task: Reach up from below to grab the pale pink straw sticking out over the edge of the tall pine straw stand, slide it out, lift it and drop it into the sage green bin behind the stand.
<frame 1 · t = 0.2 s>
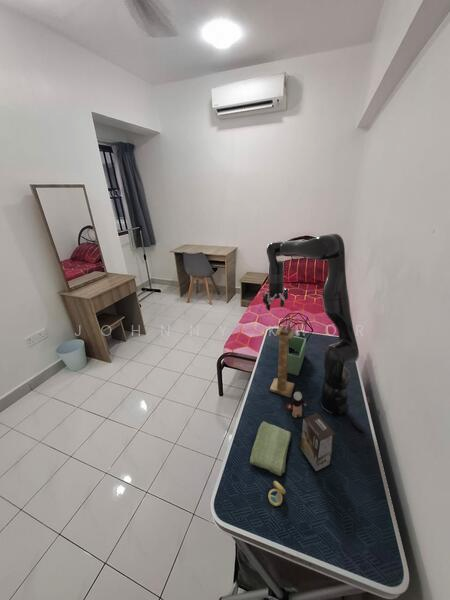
hand: (275, 308, 131), 29 cm above the table, tool pointing down, fingers open, 8 cm apart
grandmother figurine: (295, 414, 104), on the table
bin: (291, 362, 133), on the table
straw stand: (282, 386, 118), on the table
coffee box: (314, 456, 88), on the table
straw: (288, 325, 106), point 34 cm above the table, touching straw stand
washcloth: (270, 448, 91), on the table
eyeshadow: (275, 497, 77), on the table
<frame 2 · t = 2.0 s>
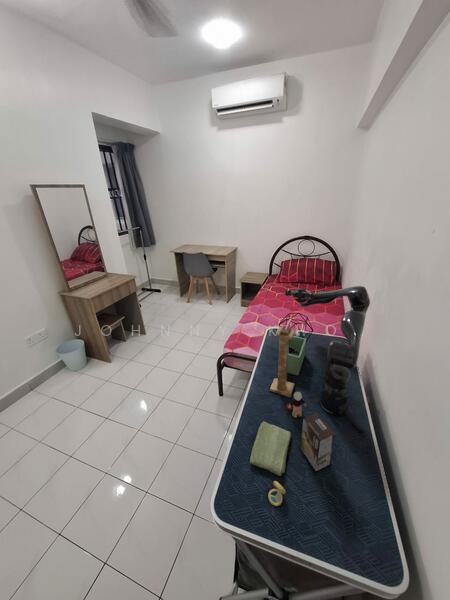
hand: (297, 293, 118), 41 cm above the table, tool pointing upward, fingers open, 8 cm apart
nothing on the table moved.
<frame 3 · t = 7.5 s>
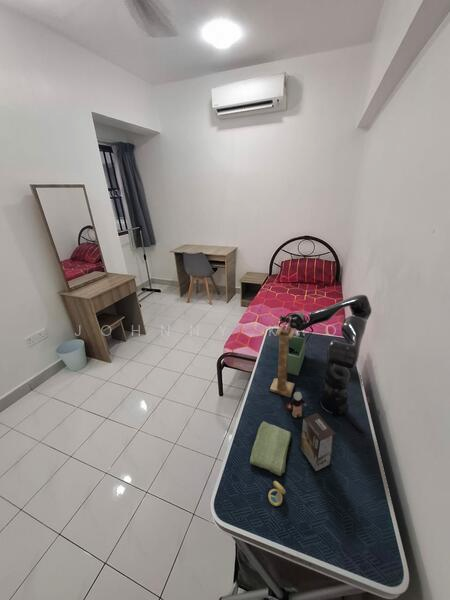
hand: (289, 320, 107), 35 cm above the table, tool pointing upward, fingers closed on straw, 1 cm apart
straw: (288, 325, 106), point 34 cm above the table, touching gripper, straw stand
everything else where it was.
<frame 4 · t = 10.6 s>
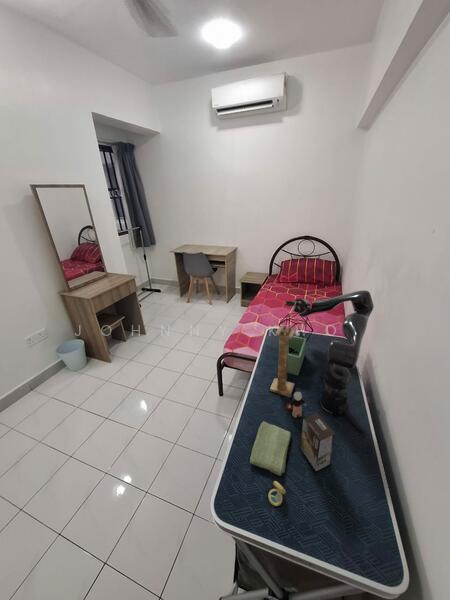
hand: (294, 303, 113), 39 cm above the table, tool pointing upward, fingers closed on straw, 1 cm apart
straw: (293, 308, 112), point 37 cm above the table, touching gripper
everything else where it was.
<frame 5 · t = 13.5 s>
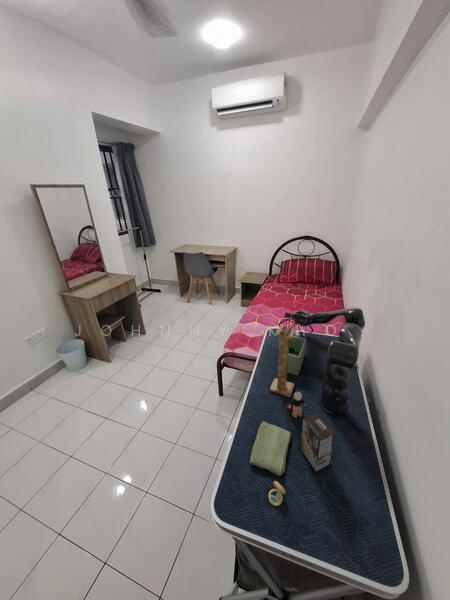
hand: (296, 316, 123), 28 cm above the table, tool pointing upward, fingers open, 8 cm apart
straw: (291, 360, 133), point 1 cm above the table, tilted 35°, touching bin
everything else where it was.
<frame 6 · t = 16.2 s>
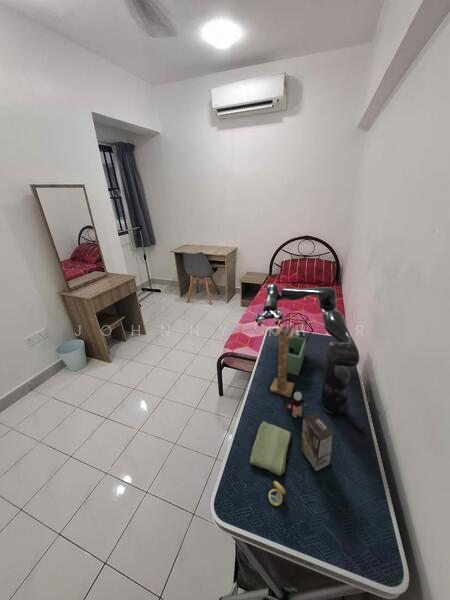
hand: (267, 324, 121), 27 cm above the table, tool horizontal, fingers open, 8 cm apart
straw: (292, 360, 133), point 1 cm above the table, tilted 44°, touching bin
everything else where it was.
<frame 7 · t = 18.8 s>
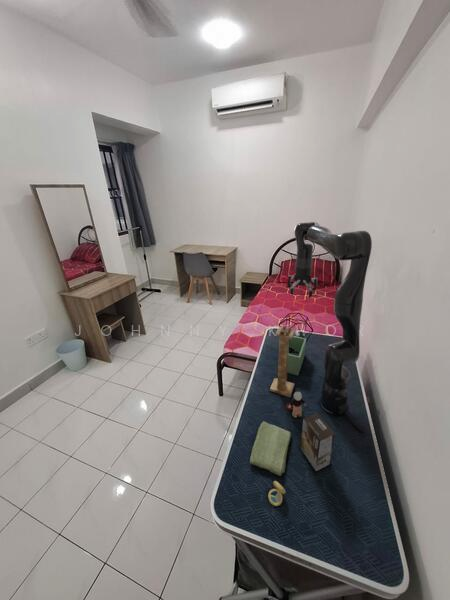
hand: (301, 295, 122), 38 cm above the table, tool pointing down, fingers open, 8 cm apart
straw: (296, 361, 132), point 1 cm above the table, tilted 151°, touching bin
everything else where it was.
at the end: straw 2.3 cm from the bin (horizontally); straw point 1.4 cm above the table; the gripper is holding nothing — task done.
